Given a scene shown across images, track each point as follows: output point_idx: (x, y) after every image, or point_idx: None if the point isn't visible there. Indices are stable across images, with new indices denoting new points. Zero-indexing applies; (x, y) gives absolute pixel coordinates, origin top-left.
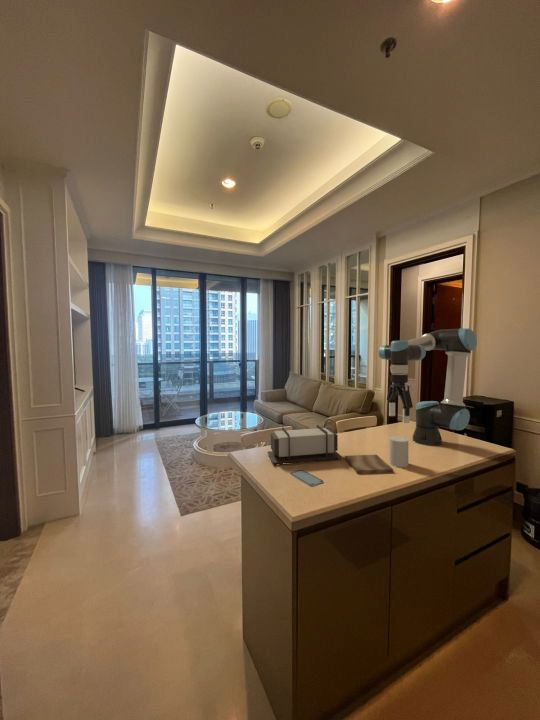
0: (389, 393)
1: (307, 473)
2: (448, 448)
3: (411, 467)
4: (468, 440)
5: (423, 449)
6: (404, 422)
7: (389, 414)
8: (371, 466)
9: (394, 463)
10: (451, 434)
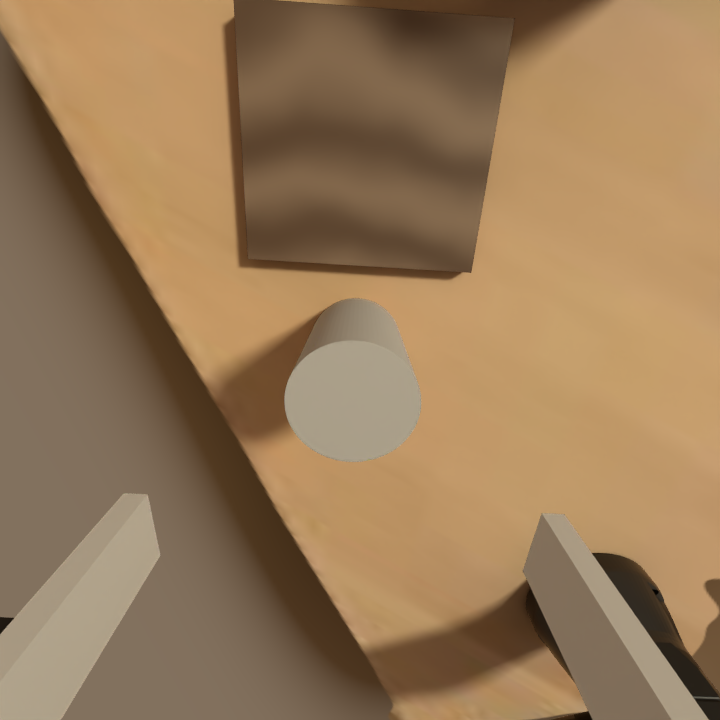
0: None
1: None
2: (479, 614)
3: None
4: (532, 704)
5: (500, 534)
6: (121, 508)
7: (561, 531)
8: (292, 142)
9: (328, 309)
10: None
